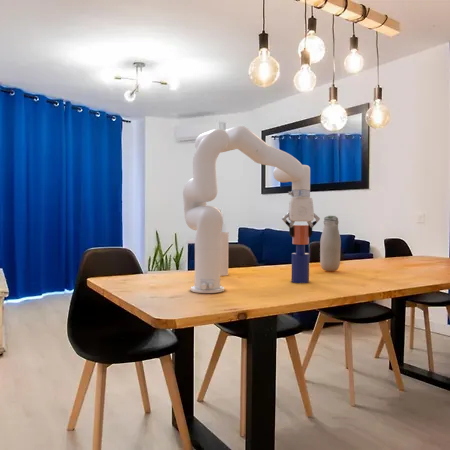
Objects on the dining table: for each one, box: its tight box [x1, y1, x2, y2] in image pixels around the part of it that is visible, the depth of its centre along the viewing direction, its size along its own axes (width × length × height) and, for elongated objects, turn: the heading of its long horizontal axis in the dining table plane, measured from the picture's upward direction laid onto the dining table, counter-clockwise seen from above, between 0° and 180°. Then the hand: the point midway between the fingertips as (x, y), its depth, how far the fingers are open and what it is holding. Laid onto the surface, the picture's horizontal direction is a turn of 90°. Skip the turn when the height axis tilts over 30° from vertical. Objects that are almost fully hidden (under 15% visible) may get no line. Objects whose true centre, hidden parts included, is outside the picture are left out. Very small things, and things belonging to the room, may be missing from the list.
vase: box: [220, 231, 229, 277], centre depth 208 cm, size 11×7×20 cm, turn 20°
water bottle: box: [291, 244, 310, 284], centre depth 185 cm, size 7×7×16 cm
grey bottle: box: [319, 215, 342, 272], centre depth 219 cm, size 10×10×28 cm
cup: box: [291, 224, 310, 246], centre depth 184 cm, size 7×7×8 cm
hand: (300, 236), depth 184 cm, fingers closed on cup, 6 cm apart
